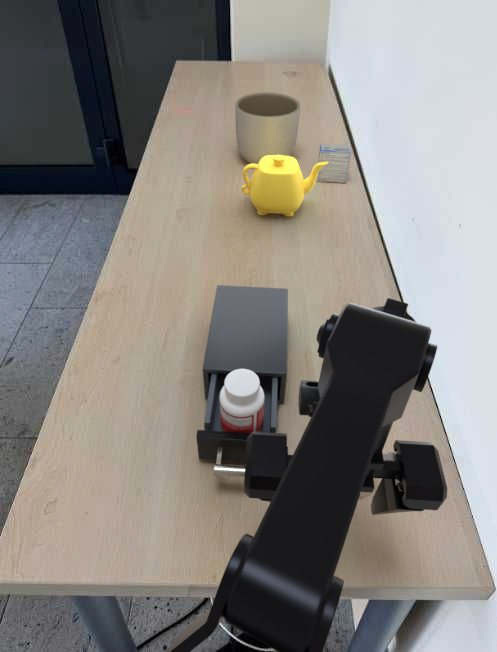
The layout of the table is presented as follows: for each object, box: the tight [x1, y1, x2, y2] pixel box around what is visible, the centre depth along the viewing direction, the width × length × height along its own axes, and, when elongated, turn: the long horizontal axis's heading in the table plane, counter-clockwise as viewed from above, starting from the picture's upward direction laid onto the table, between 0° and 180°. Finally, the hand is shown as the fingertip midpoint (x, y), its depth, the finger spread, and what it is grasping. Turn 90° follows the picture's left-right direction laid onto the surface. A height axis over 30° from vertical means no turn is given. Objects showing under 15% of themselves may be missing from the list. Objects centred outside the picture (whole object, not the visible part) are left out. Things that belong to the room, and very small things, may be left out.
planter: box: [234, 91, 301, 164], centre depth 132 cm, size 17×17×15 cm
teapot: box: [241, 155, 329, 217], centre depth 115 cm, size 14×20×13 cm
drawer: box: [196, 373, 278, 478], centre depth 72 cm, size 23×11×6 cm, turn 176°
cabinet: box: [202, 284, 289, 405], centre depth 82 cm, size 20×13×8 cm, turn 176°
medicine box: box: [316, 143, 352, 184], centre depth 127 cm, size 8×4×9 cm, turn 85°
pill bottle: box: [220, 369, 264, 433], centre depth 68 cm, size 6×6×11 cm
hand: (330, 507), depth 53 cm, fingers open, 9 cm apart
